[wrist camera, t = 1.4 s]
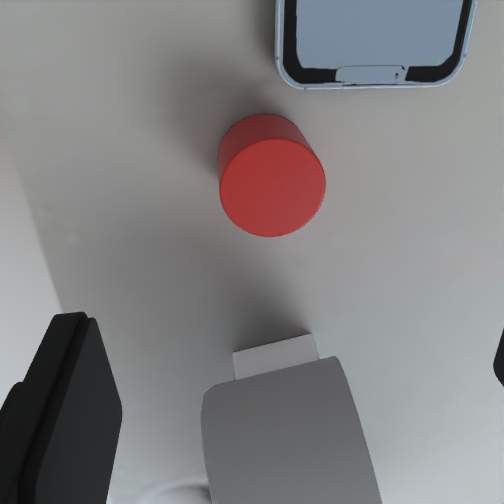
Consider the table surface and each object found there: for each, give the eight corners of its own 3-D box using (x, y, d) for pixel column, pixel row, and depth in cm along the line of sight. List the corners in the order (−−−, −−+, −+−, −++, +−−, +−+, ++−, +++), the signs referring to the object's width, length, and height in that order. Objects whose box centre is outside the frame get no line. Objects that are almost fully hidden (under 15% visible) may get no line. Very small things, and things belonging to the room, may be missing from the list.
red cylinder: (213, 116, 18) (214, 142, 15) (308, 109, 18) (328, 133, 15) (221, 204, 20) (224, 242, 17) (307, 197, 21) (324, 233, 18)
